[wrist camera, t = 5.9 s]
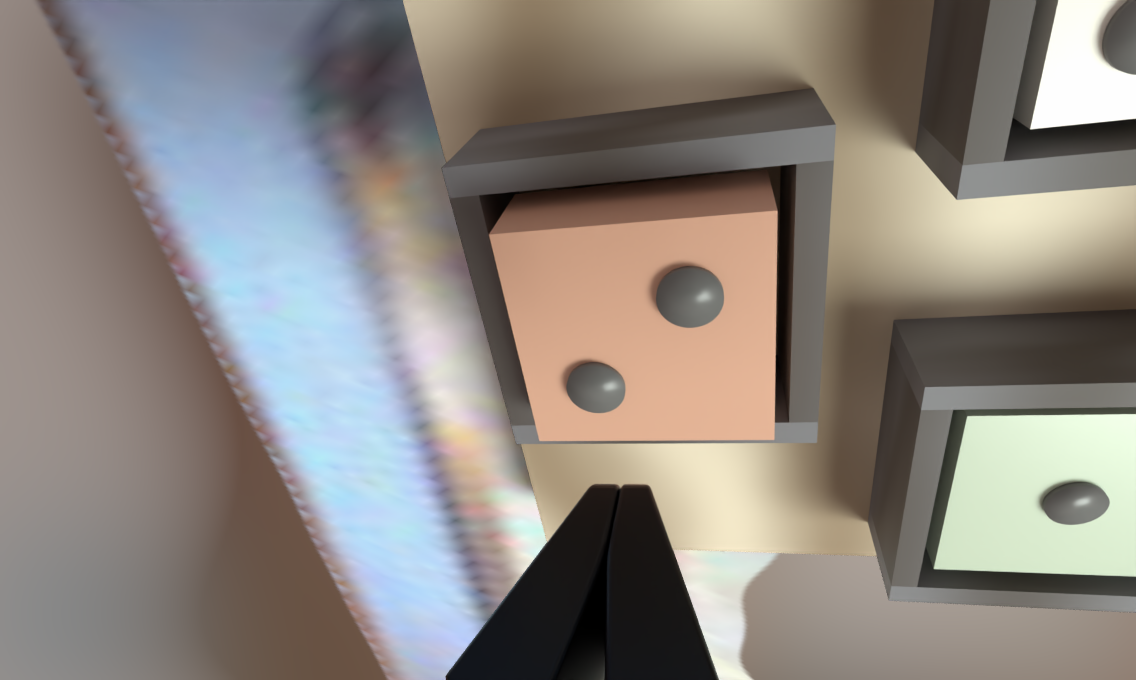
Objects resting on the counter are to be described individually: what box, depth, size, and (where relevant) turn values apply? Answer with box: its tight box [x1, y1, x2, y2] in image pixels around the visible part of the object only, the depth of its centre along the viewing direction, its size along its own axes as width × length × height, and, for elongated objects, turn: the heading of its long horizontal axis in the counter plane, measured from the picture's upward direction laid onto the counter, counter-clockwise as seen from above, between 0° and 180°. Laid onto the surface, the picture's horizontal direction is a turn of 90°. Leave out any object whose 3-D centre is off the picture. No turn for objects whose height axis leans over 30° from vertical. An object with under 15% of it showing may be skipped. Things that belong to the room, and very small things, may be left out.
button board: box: [403, 0, 1136, 613], centre depth 14 cm, size 18×21×5 cm
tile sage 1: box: [926, 407, 1136, 577], centre depth 15 cm, size 5×5×2 cm
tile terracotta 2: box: [489, 170, 778, 441], centre depth 13 cm, size 5×5×2 cm
